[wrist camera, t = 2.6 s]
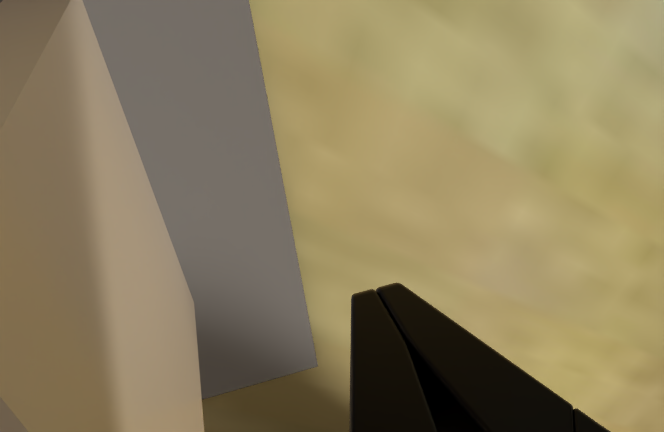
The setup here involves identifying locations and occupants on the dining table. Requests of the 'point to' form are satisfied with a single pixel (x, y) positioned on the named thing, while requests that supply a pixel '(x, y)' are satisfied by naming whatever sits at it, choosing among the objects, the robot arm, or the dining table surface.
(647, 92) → the dining table surface
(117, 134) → the tile
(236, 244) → the mat
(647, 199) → the dining table surface
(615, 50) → the dining table surface
